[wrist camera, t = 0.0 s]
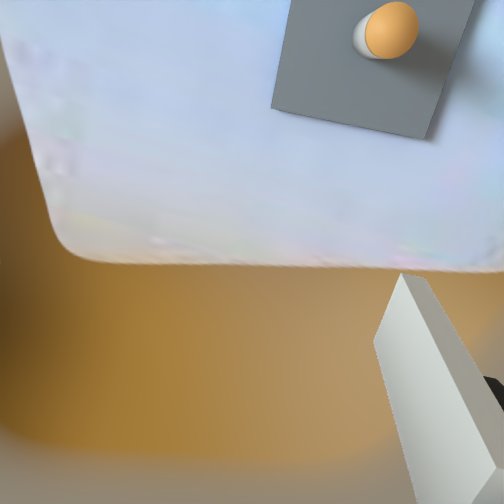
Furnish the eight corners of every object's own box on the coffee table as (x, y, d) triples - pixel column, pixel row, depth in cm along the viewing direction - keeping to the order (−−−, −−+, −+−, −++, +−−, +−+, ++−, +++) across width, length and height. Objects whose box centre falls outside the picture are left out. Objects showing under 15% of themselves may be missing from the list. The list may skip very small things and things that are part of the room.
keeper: (307, -83, 31) (312, -134, 23) (487, -47, 31) (556, -85, 22) (271, 107, 37) (264, 120, 29) (420, 137, 37) (455, 160, 29)
